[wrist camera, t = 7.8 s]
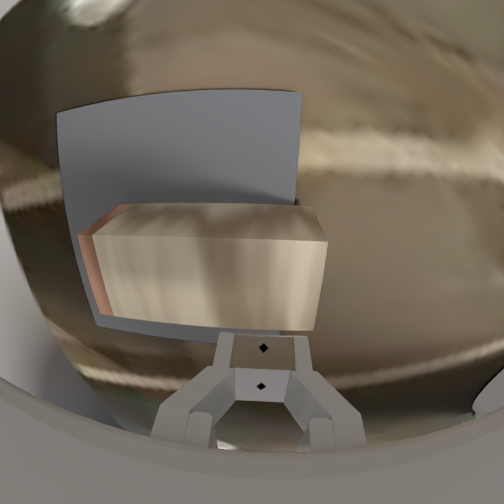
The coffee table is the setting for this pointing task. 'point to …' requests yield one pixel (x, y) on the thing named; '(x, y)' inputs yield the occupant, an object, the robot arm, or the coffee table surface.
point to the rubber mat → (176, 165)
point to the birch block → (208, 264)
